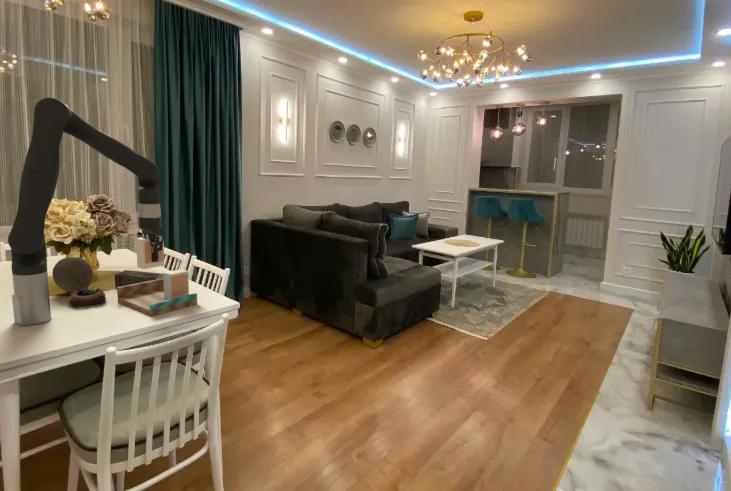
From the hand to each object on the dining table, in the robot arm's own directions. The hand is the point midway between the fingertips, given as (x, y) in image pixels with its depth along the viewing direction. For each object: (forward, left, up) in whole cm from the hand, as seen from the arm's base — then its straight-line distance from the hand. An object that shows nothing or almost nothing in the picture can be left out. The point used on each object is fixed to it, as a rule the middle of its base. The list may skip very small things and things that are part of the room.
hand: (151, 260), depth 156 cm
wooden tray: (+5, +5, -19) cm, 21 cm away
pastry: (-12, +24, -20) cm, 34 cm away
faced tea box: (+10, 0, -17) cm, 20 cm away
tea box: (0, 0, -2) cm, 2 cm away
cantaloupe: (-10, +41, -20) cm, 46 cm away
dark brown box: (+12, +31, -20) cm, 39 cm away
